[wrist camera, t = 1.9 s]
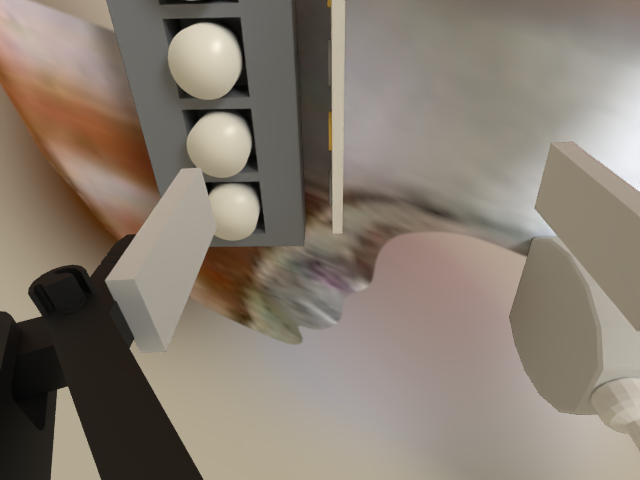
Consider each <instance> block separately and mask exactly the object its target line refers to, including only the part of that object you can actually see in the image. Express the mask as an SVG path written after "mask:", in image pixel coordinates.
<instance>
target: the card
mask: <svg viewBox="0 0 640 480" xmlns="http://www.w3.org/2000/svg"><path fill="white" fill-rule="evenodd" d="M327 7H331V40H328V86H331V111H328V121H329V151H331V152H332V171H329V206H332V227H333V234H342V223H343V142H344V62H345V0H327Z"/></svg>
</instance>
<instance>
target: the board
mask: <svg viewBox="0 0 640 480" xmlns="http://www.w3.org/2000/svg"><path fill="white" fill-rule="evenodd" d="M106 1H107V5H108V8H109V12H110V16H111V19H112V23H113V27H114V30H115V34H116V38H117V41H118V45H119V48H120V52H121V56H122V59H123V63H124V67H125V70H126V74H127V77H128V81H129V85H130V88H131V92H132V96H133V99H134V103H135V106H136V110H137V114H138V117H139V121H140V125H141V128H142V132H143V135H144V139H145V143H146V146H147V150H148V153H149V157H150V161H151V164H152V168H153V172H154V175H155V179H156V182H157V186H158V190H159V193H160V197H161V198H162V196H163V195H164V193H165V192H166V191H167V189H168V188H169V186H170V185H171V183H172V182H173V180H174V179H175V177H176V176H177V175H178V173H179V172H180V170H181V169H186V168H197V167H196V166H195V165H194V163H193V162H192V161H191V159H190V157H189V155H188V151H187V138H188V135H189V133H190V131H191V130H192V128H193V127H194V126H195V124H196V123H197V122H198V121H199V119H200V118H201V117H202V116H203V115H204V113H206V112H207V111H209V110H210V109H234V110H236V111H238V112H239V113H241V114H242V115H243V116H244V117H245V118H246V119H247V120H248V121H249V123H250V125H251V127H252V129H253V133H254V144H253V147H252V150H251V152H250V155H249V157H248V160H247V162H246V165H245V166H244V168H243V169H242V170H241V171H240V172H239V173H237V174H236V175H234V176H231V177H226V178H218V177H213V176H210V175H207V174H205V173H204V172H202V174H203V177H204V181H205V185H206V189H207V192H208V196H209V194H210V192H211V190H212V188H213V186H214V185H215V184H216V183H217V182H250V183H251V184H253V185H254V186H255V187H256V188H257V190H258V191H259V193H260V196H261V200H262V205H261V209H260V213H259V217H258V221H257V225H256V228H255V230H254V231H253V232H252V234H251V235H249V236H248V237H246V238H244V239H241V240H236V241H230V240H224V239H221V238H219V237H217V236H215V235H213V238H212V240H211V243H210V245H209V247H244V246H304V240H305V227H306V208H305V187H304V166H303V145H302V124H301V103H300V82H299V61H298V40H297V19H296V0H194V1H188V0H106ZM205 20H212V21H217V22H220V23H222V24H224V25H226V26H227V27H229V28H230V29H231V30H232V31H233V32H234V33H235V34H236V35H237V37H238V38H239V40H240V42H241V44H242V46H243V50H244V55H245V64H244V69H243V72H242V74H241V76H240V77H239V79H238V80H237V81H236V83H235V84H234V86H233V87H232V88H231V90H230V91H229V92H228V93H227V94H225V95H224V96H222V97H220V98H217V99H213V100H204V99H199V98H196V97H194V96H192V95H190V94H188V93H187V92H185V91H184V90H183V89H182V88H181V87H180V86H179V85H178V84H177V82H176V81H175V79H174V78H173V76H172V74H171V71H170V68H169V64H168V50H169V46H170V44H171V41H172V40H173V38H174V37H175V36H176V35H177V34H178V33H179V32H180V31H182V30H183V29H185V28H187V27H189V26H191V25H193V24H195V23H197V22H200V21H205Z"/></svg>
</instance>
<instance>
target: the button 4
mask: <svg viewBox="0 0 640 480" xmlns="http://www.w3.org/2000/svg"><path fill="white" fill-rule="evenodd" d="M209 200H210V204H211V208H212V211H213V215H214V219H215V223H216V226H217V228H216V230H215V233H214V235H215V236H217V237H219V238H221V239H224V240H230V241H236V240H241V239H244V238H246V237H248V236H249V235H251V234H252V232H253V231H254V230H255V228H256V225H257V221H258V217H259V213H260V209H261V205H262V200H261V196H260V193H259V191H258V190H257V188H256V187H255V186H254V185H253V184H251V183H250V182H217V183H216V184H215V185H214V186H213V188H212V190H211V192H210V194H209Z"/></svg>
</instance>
